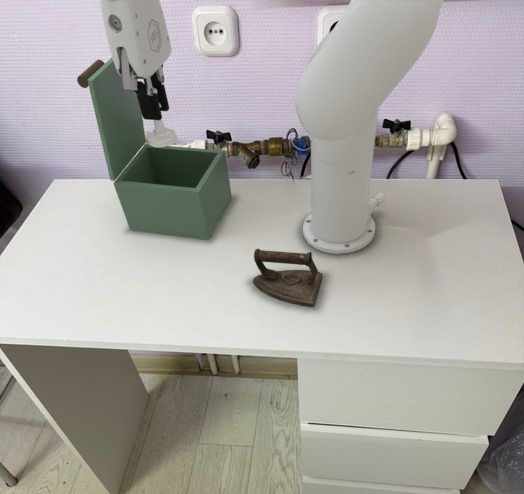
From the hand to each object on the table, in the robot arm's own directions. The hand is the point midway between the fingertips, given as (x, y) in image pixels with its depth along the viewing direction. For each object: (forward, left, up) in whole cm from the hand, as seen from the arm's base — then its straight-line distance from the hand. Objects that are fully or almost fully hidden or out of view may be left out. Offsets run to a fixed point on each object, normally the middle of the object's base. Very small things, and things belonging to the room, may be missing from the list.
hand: (156, 113), depth 80 cm
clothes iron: (-1, +29, -20) cm, 35 cm away
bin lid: (+4, -5, -1) cm, 6 cm away
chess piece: (0, 0, -5) cm, 5 cm away
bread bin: (0, 0, -19) cm, 19 cm away
